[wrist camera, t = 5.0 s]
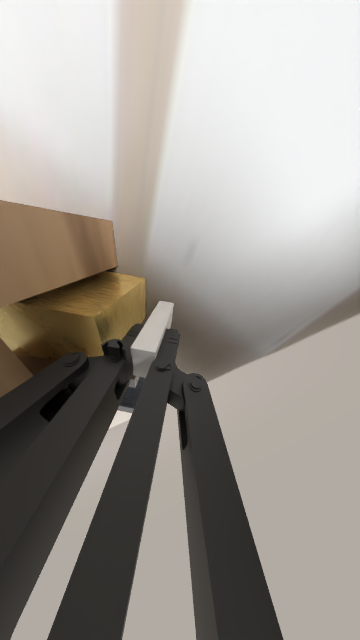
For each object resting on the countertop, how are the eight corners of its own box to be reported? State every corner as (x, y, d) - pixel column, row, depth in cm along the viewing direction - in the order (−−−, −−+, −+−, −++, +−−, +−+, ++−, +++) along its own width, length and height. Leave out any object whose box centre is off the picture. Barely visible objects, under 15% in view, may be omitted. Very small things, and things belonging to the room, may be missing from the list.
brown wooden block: (112, 221, 11) (-414, 122, 2) (126, 338, 19) (53, 442, 9) (46, 209, 11) (-807, 54, 2) (87, 331, 19) (-25, 425, 9)
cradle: (152, 354, 20) (141, 381, 16) (151, 390, 26) (143, 415, 23) (55, 335, 21) (24, 357, 17) (76, 375, 27) (57, 397, 23)
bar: (145, 278, 14) (94, 317, 7) (145, 317, 16) (109, 371, 10) (3, 251, 14) (-178, 264, 7) (26, 294, 17) (-87, 331, 10)
